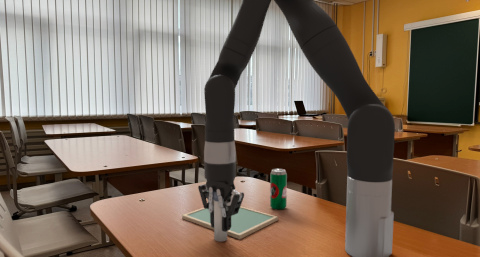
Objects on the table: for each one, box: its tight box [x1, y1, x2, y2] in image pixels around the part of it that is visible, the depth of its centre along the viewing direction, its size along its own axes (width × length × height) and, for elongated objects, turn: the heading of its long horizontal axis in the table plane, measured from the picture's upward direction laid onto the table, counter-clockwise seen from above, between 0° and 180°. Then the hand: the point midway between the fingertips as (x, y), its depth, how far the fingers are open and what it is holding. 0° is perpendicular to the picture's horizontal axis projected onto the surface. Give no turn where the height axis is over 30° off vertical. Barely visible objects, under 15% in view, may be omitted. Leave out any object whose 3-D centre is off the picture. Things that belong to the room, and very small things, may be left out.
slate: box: [181, 205, 279, 240], centre depth 97 cm, size 22×17×1 cm
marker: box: [213, 192, 228, 243], centre depth 84 cm, size 3×3×12 cm
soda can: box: [269, 168, 288, 211], centre depth 106 cm, size 5×5×12 cm
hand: (220, 228), depth 84 cm, fingers closed on marker, 3 cm apart
